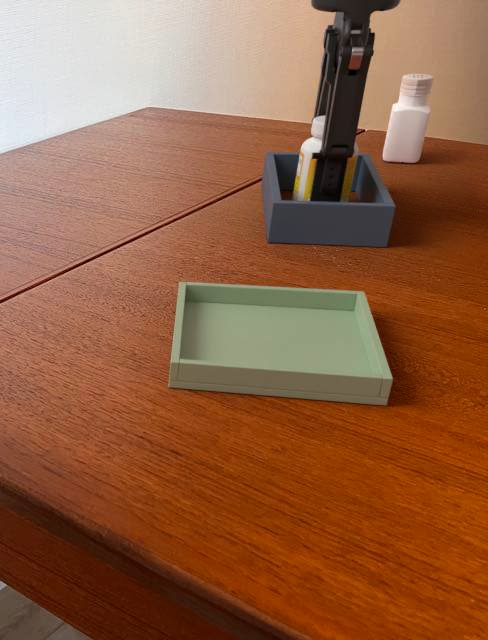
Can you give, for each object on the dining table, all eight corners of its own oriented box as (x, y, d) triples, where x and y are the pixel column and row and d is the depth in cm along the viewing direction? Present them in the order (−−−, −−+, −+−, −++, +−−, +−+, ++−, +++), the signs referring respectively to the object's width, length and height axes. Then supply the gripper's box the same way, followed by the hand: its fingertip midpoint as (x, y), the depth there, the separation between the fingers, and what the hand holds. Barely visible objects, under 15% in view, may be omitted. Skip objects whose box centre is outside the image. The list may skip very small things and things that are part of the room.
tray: (359, 315, 69) (364, 291, 68) (386, 406, 57) (393, 378, 56) (177, 304, 72) (179, 281, 71) (168, 387, 61) (170, 361, 60)
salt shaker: (418, 155, 104) (437, 73, 99) (418, 164, 101) (438, 80, 96) (382, 153, 106) (399, 72, 101) (381, 162, 103) (398, 79, 98)
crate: (362, 189, 95) (369, 153, 93) (386, 247, 80) (396, 206, 78) (260, 187, 97) (265, 151, 95) (267, 242, 83) (273, 202, 81)
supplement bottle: (279, 211, 90) (293, 117, 85) (321, 203, 92) (337, 110, 87) (314, 226, 86) (331, 128, 81) (358, 217, 87) (377, 121, 82)
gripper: (309, -47, 85) (275, 184, 97) (327, -28, 70) (284, 242, 82) (391, -50, 83) (347, 185, 95) (428, -32, 68) (370, 245, 80)
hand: (318, 211), depth 89 cm, fingers closed on supplement bottle, 5 cm apart
